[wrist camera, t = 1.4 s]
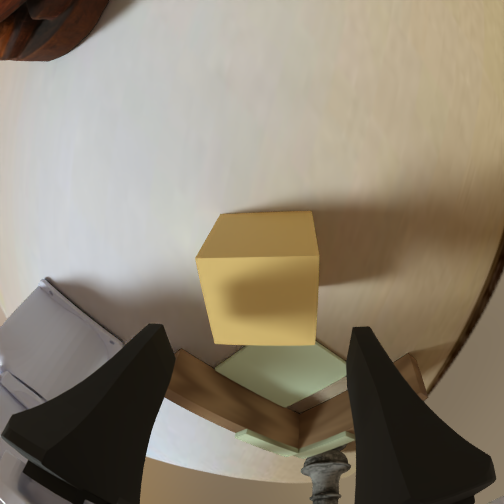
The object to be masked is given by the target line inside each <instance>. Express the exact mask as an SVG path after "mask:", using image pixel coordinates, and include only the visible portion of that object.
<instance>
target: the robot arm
mask: <svg viewBox="0 0 504 504" xmlns="http://www.w3.org/2000/svg"><path fill="white" fill-rule="evenodd" d="M122 347H123V343H122V342H121V341H120V340H119V339H117V338H116V337H115V336H113V335H112V334H110V333H109V332H108V331H106V330H105V329H104V328H102V327H101V326H100V325H98V324H97V323H96V322H95V321H93V320H92V319H91V318H90V317H88V316H87V315H86V314H85V313H83V312H82V311H81V310H80V309H78V308H77V307H76V306H75V305H74V304H72V303H71V302H70V301H69V300H68V299H66V298H65V297H64V296H63V295H62V294H61V293H60V292H58V291H57V290H56V289H55V288H54V287H53V286H52V285H51V284H49V283H48V282H47V281H46V280H45V279H42V280H41V281H40V283H39V286H38V287H37V288H36V289H35V290H34V291H33V292H32V293H31V294H30V295H29V297H28V298H27V299H26V300H25V301H24V302H23V303H22V304H21V305H20V306H19V307H18V308H17V309H16V310H15V311H14V312H13V313H12V315H11V316H10V317H9V318H8V319H7V320H6V321H5V322H4V323H3V325H2V326H1V327H0V504H140V492H141V481H142V474H143V467H144V462H145V457H146V452H147V447H148V443H149V439H150V435H151V431H152V428H153V425H154V422H155V419H156V417H157V414H158V412H159V409H160V407H161V404H162V402H163V399H164V396H165V394H166V391H167V389H168V386H169V383H170V381H171V377H172V373H173V369H174V365H175V360H176V358H175V355H174V353H173V350H172V348H171V345H170V343H169V340H168V337H167V335H166V332H165V329H164V326H163V325H162V324H148V325H147V326H146V327H145V328H144V329H143V330H141V331H140V332H139V333H138V334H137V335H136V336H135V337H134V338H133V339H132V340H131V341H129V342H128V343H127V344H126V345H125V346H124V347H123V348H122ZM346 374H347V388H348V394H349V400H350V406H351V413H352V419H353V425H354V432H355V441H356V489H355V504H474V503H475V499H474V495H475V494H476V493H478V492H480V491H482V490H483V489H485V488H486V487H488V486H490V485H491V484H492V483H494V481H495V480H496V475H495V470H494V465H493V462H492V459H491V457H490V456H489V455H488V454H486V453H485V452H483V451H481V450H480V449H478V448H476V447H475V446H473V445H472V444H470V443H469V442H468V441H466V440H465V439H464V438H462V437H461V436H460V435H458V434H457V433H456V432H455V431H454V430H453V429H451V428H450V427H449V426H448V425H447V424H446V423H445V422H444V421H442V420H441V419H440V418H439V417H438V416H437V415H436V414H435V413H434V412H433V411H432V410H431V409H430V408H429V407H428V406H427V405H426V404H425V403H424V401H423V400H422V399H421V398H420V397H419V396H418V395H417V393H416V392H415V391H414V390H413V389H412V387H411V386H410V385H409V384H408V382H407V381H406V380H405V379H404V377H403V376H402V375H401V373H400V372H399V370H398V369H397V368H396V366H395V365H394V363H393V362H392V361H391V359H390V358H389V356H388V355H387V353H386V352H385V350H384V349H383V347H382V346H381V344H380V342H379V341H378V339H377V338H376V336H375V334H374V333H373V331H372V329H371V328H370V327H369V326H367V327H353V329H352V334H351V340H350V345H349V350H348V355H347V360H346ZM487 504H504V496H501V497H499V498H497V499H495V500H493V501H491V502H489V503H487Z"/></svg>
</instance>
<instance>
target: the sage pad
mask: <svg viewBox="0 0 504 504" xmlns="http://www.w3.org/2000/svg"><path fill="white" fill-rule="evenodd" d="M215 371H217V372H219V373H220V374H222V375H224V376H226V377H227V378H229V379H231V380H233V381H234V382H236V383H238V384H240V385H242V386H243V387H245V388H247V389H249V390H251V391H253V392H255V393H256V394H258V395H260V396H262V397H264V398H266V399H268V400H270V401H272V402H274V403H276V404H278V405H280V406H282V407H284V408H286V407H288V406H290V405H292V404H294V403H296V402H298V401H300V400H302V399H304V398H306V397H308V396H310V395H312V394H314V393H316V392H318V391H320V390H322V389H323V388H325V387H327V386H329V385H331V384H332V383H334V382H336V381H338V380H340V379H341V378H343V377H345V376H346V375H347V374H346V361H344V360H343V359H341V358H340V357H338V356H337V355H335V354H334V353H332V352H331V351H330V350H328V349H327V348H325V347H324V346H322V345H321V344H319V343H318V342H317V341H315V345H303V346H262V345H246V346H245V347H243V348H242V349H241V350H239V351H238V352H237V353H235V354H234V355H232V356H231V357H229V358H228V359H227V360H225V361H224V362H222V363H221V364H219V365H218V366H217V367H215Z"/></svg>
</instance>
